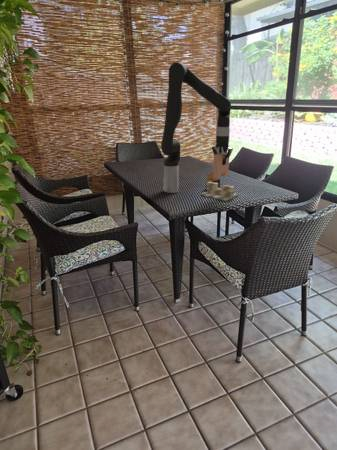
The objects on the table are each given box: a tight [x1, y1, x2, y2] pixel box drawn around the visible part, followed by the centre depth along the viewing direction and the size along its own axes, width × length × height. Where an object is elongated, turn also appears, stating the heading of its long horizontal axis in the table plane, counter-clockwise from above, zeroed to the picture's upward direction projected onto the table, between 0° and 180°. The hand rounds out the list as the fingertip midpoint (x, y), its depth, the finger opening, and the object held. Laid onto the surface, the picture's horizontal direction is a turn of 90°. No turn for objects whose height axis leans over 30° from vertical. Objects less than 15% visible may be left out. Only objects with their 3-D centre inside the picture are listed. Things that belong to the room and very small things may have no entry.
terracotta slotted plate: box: [212, 153, 230, 179], centre depth 186 cm, size 3×12×14 cm, turn 137°
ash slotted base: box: [201, 181, 239, 202], centre depth 192 cm, size 18×14×7 cm
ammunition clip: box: [205, 170, 221, 190], centre depth 207 cm, size 11×2×12 cm, turn 120°
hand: (221, 164), depth 186 cm, fingers closed on terracotta slotted plate, 3 cm apart
